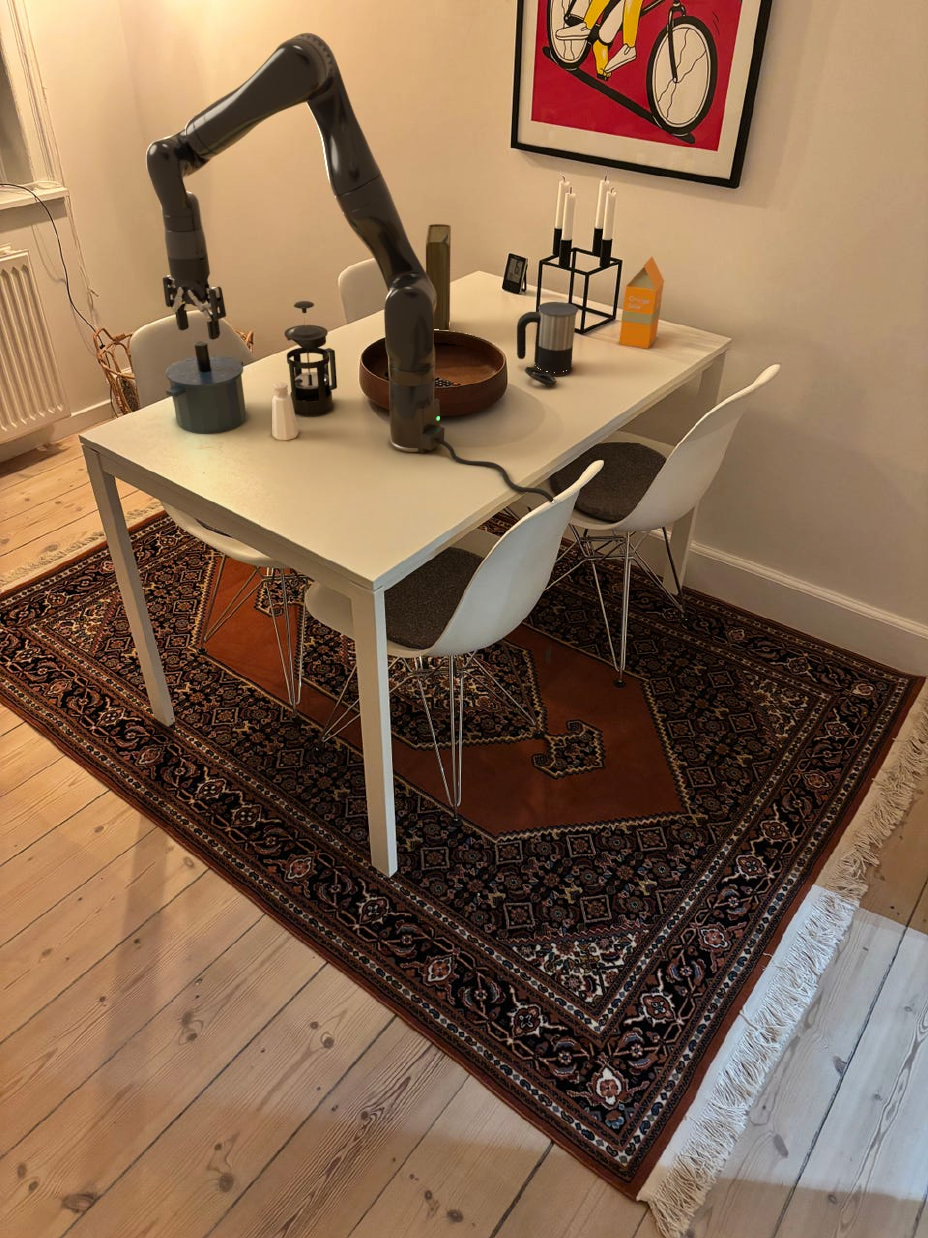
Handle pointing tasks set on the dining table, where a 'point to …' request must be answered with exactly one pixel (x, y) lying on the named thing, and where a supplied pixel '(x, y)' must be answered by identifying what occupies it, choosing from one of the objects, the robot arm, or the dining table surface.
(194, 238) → the robot arm
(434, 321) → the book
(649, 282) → the orange juice
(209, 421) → the pot
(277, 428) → the pepper shaker
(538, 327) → the milk frother
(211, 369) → the lid
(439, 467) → the dining table surface
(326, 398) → the french press
